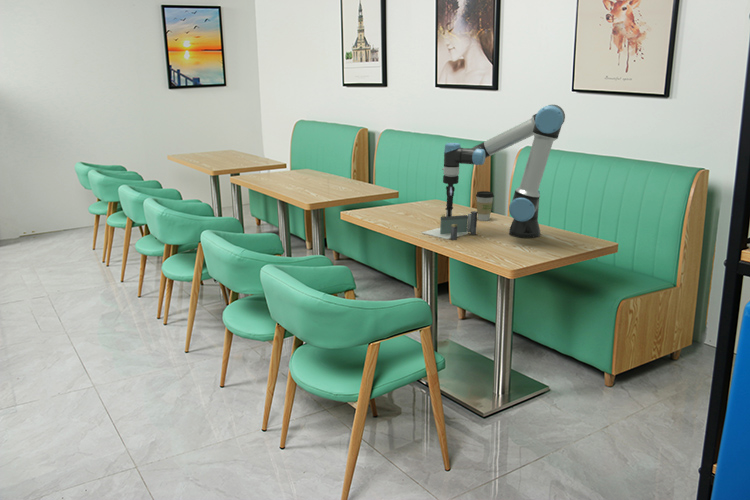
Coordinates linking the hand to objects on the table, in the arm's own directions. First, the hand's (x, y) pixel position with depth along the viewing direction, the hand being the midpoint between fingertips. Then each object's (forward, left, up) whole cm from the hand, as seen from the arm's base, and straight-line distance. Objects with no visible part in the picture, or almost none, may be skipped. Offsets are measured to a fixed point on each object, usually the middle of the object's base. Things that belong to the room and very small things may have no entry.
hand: (448, 222), depth 309 cm
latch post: (-9, +6, -6) cm, 13 cm away
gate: (-4, -2, -5) cm, 6 cm away
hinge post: (-9, -8, -6) cm, 14 cm away
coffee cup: (+7, -39, -6) cm, 40 cm away
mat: (+2, 0, -6) cm, 6 cm away
